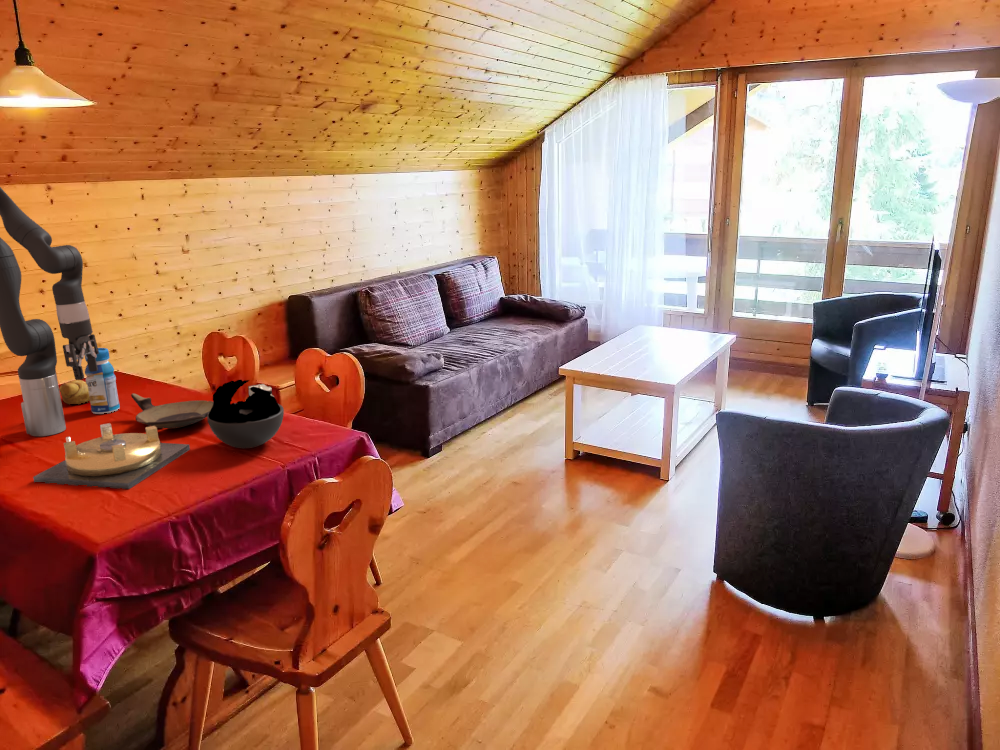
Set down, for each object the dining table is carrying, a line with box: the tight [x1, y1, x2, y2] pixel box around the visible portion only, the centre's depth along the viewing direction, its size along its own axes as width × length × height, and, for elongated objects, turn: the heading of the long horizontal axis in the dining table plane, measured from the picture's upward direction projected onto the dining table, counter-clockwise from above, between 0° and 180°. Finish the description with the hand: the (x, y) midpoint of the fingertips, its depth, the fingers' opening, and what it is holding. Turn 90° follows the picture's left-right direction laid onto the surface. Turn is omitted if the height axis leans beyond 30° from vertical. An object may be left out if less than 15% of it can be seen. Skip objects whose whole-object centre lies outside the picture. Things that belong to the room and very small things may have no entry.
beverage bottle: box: [84, 347, 121, 415], centre depth 232 cm, size 8×8×20 cm
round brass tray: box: [63, 422, 161, 476], centre depth 190 cm, size 22×22×6 cm
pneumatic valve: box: [247, 383, 276, 399], centre depth 221 cm, size 6×12×12 cm, turn 32°
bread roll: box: [59, 379, 90, 405], centre depth 244 cm, size 13×10×8 cm
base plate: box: [32, 436, 191, 490], centre depth 191 cm, size 26×26×8 cm
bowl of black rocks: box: [206, 379, 285, 449], centre depth 202 cm, size 20×20×19 cm
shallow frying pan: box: [130, 392, 214, 429], centre depth 223 cm, size 22×30×8 cm
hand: (87, 375), depth 207 cm, fingers open, 8 cm apart
